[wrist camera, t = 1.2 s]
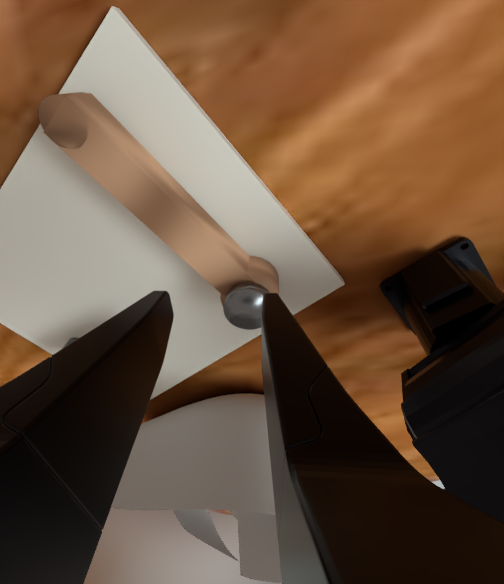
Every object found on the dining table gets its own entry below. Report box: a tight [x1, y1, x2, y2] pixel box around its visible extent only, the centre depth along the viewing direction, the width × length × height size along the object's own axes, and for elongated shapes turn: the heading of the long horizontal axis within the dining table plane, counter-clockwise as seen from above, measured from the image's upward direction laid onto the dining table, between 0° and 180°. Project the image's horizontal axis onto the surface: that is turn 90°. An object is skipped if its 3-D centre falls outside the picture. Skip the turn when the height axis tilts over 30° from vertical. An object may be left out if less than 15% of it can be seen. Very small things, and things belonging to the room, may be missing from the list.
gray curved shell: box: [111, 393, 282, 582], centre depth 32 cm, size 20×19×12 cm
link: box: [38, 92, 279, 307], centre depth 19 cm, size 17×4×2 cm, turn 41°
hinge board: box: [0, 6, 345, 400], centre depth 25 cm, size 21×26×1 cm
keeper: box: [62, 282, 270, 349], centre depth 24 cm, size 3×21×4 cm, turn 115°
